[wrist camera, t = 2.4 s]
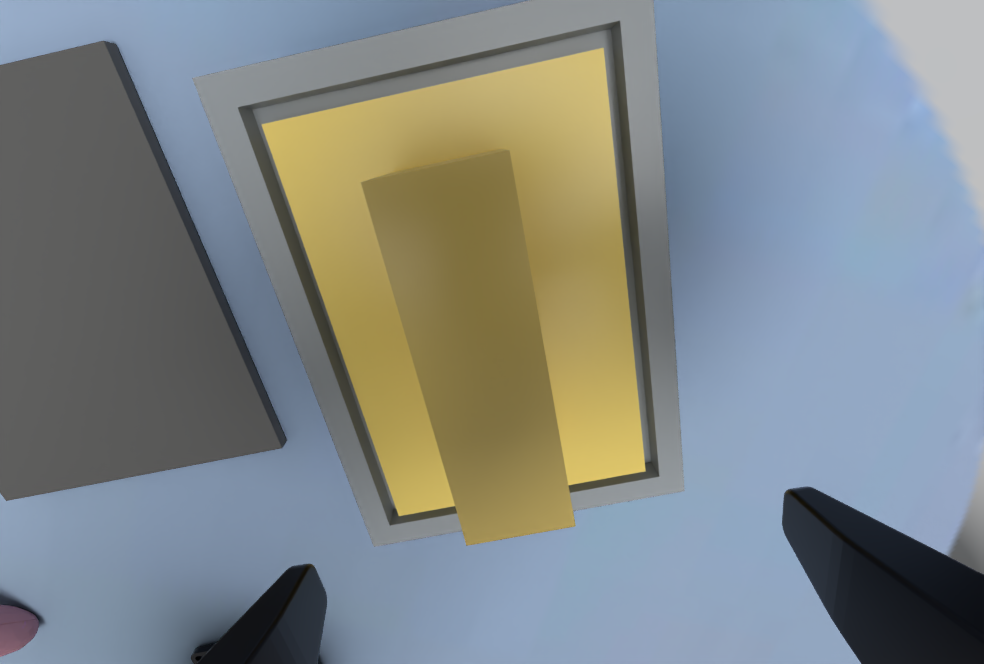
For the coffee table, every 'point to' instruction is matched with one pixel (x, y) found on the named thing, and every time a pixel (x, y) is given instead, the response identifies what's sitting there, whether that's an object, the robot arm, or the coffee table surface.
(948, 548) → the coffee table surface
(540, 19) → the box
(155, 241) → the mat
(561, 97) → the lid
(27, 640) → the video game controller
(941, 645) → the robot arm
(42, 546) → the coffee table surface
